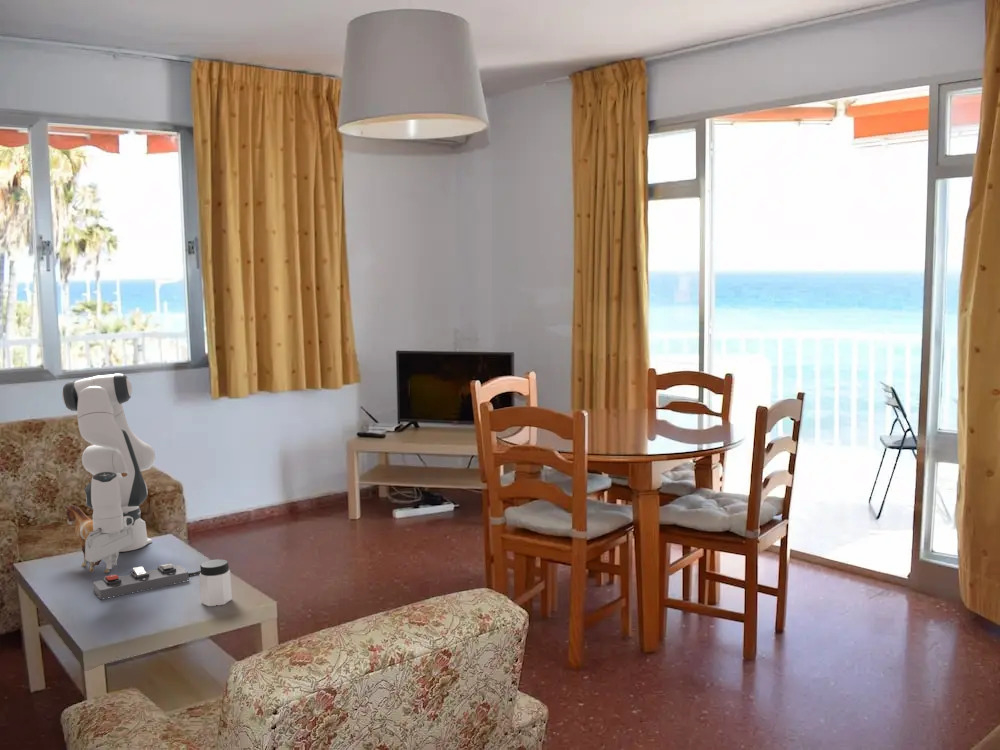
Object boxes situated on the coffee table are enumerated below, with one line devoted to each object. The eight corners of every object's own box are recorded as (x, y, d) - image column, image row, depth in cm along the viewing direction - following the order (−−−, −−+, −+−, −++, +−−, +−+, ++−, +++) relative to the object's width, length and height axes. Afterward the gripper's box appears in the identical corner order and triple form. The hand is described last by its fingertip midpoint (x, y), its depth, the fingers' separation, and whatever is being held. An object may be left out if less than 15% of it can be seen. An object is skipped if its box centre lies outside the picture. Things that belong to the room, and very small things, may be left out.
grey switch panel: (93, 591, 294) (92, 579, 293) (199, 569, 313) (198, 558, 312) (100, 599, 286) (99, 587, 285) (208, 576, 305) (208, 565, 304)
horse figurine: (68, 561, 327) (63, 504, 324) (91, 556, 332) (86, 500, 329) (94, 582, 303) (89, 520, 300) (118, 576, 308) (113, 516, 305)
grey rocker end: (160, 570, 304) (160, 565, 304) (169, 568, 306) (168, 563, 306) (164, 570, 300) (163, 565, 300) (173, 568, 302) (172, 564, 302)
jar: (236, 601, 281) (234, 562, 280) (212, 608, 275) (209, 569, 274) (221, 594, 287) (218, 557, 286) (197, 601, 281) (194, 563, 280)
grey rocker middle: (133, 572, 300) (133, 567, 299) (142, 570, 301) (142, 565, 301) (137, 579, 296) (137, 574, 295) (146, 577, 297) (146, 572, 297)
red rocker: (105, 581, 295) (105, 576, 295) (115, 579, 296) (114, 574, 296) (109, 581, 291) (108, 576, 291) (118, 580, 292) (117, 574, 292)
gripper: (96, 534, 279) (99, 578, 281) (136, 516, 299) (139, 558, 300) (77, 533, 280) (81, 577, 282) (119, 516, 300) (122, 557, 302)
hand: (111, 567), depth 291 cm, fingers closed
